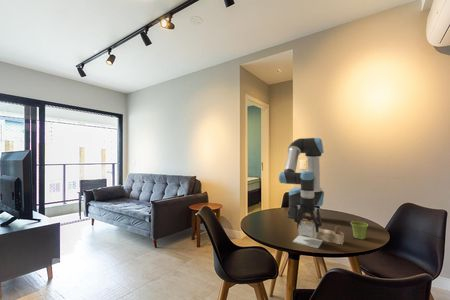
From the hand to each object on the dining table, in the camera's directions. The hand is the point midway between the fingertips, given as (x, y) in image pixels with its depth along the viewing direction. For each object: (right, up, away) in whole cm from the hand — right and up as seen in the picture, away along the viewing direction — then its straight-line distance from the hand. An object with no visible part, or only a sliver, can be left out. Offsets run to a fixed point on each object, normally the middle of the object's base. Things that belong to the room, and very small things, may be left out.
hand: (307, 235), depth 129 cm
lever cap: (0, +2, 0) cm, 2 cm away
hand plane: (+10, -4, +5) cm, 12 cm away
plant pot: (+34, -4, +6) cm, 35 cm away
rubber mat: (0, -4, 0) cm, 4 cm away
